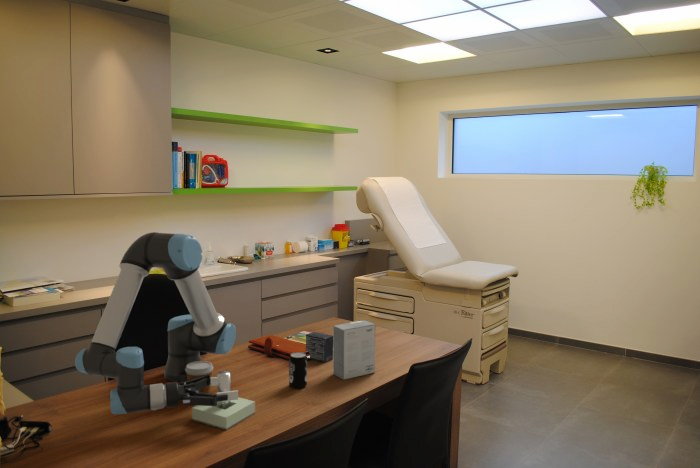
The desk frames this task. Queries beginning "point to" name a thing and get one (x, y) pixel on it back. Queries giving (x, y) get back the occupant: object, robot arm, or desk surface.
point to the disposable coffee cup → (199, 372)
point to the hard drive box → (353, 349)
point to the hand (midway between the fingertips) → (234, 386)
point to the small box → (319, 346)
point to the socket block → (224, 413)
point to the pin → (223, 387)
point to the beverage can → (298, 370)
